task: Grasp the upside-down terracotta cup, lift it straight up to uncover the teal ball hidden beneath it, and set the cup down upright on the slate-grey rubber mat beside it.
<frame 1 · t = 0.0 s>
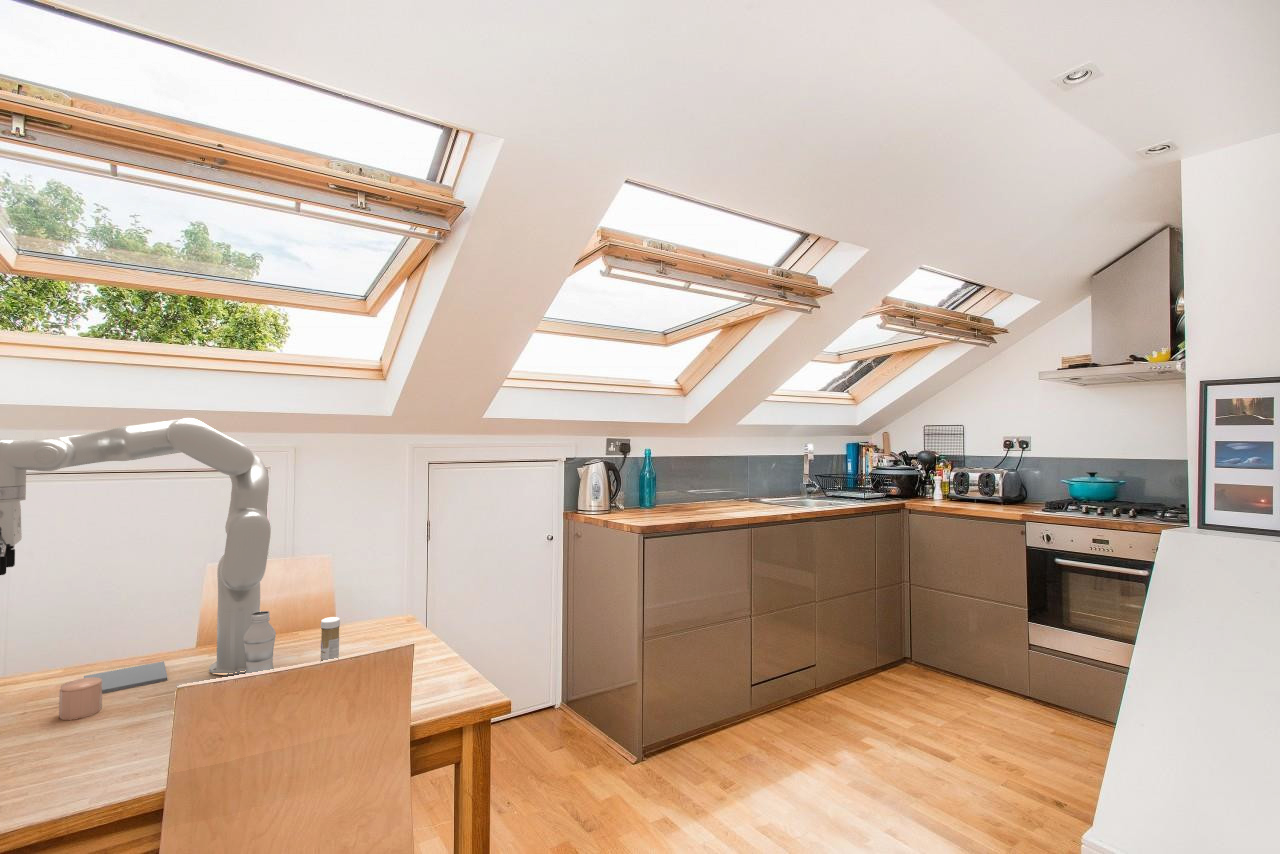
hand: (0, 571, 137), 31 cm above the table, tool pointing down, fingers open, 9 cm apart
plastic bottle: (259, 698, 145), on the table
slate mat: (125, 679, 155), on the table
teal ball: (80, 705, 137), in the terracotta cup
sprinkles bottle: (329, 670, 163), on the table
terracotta cup: (80, 712, 137), on the table
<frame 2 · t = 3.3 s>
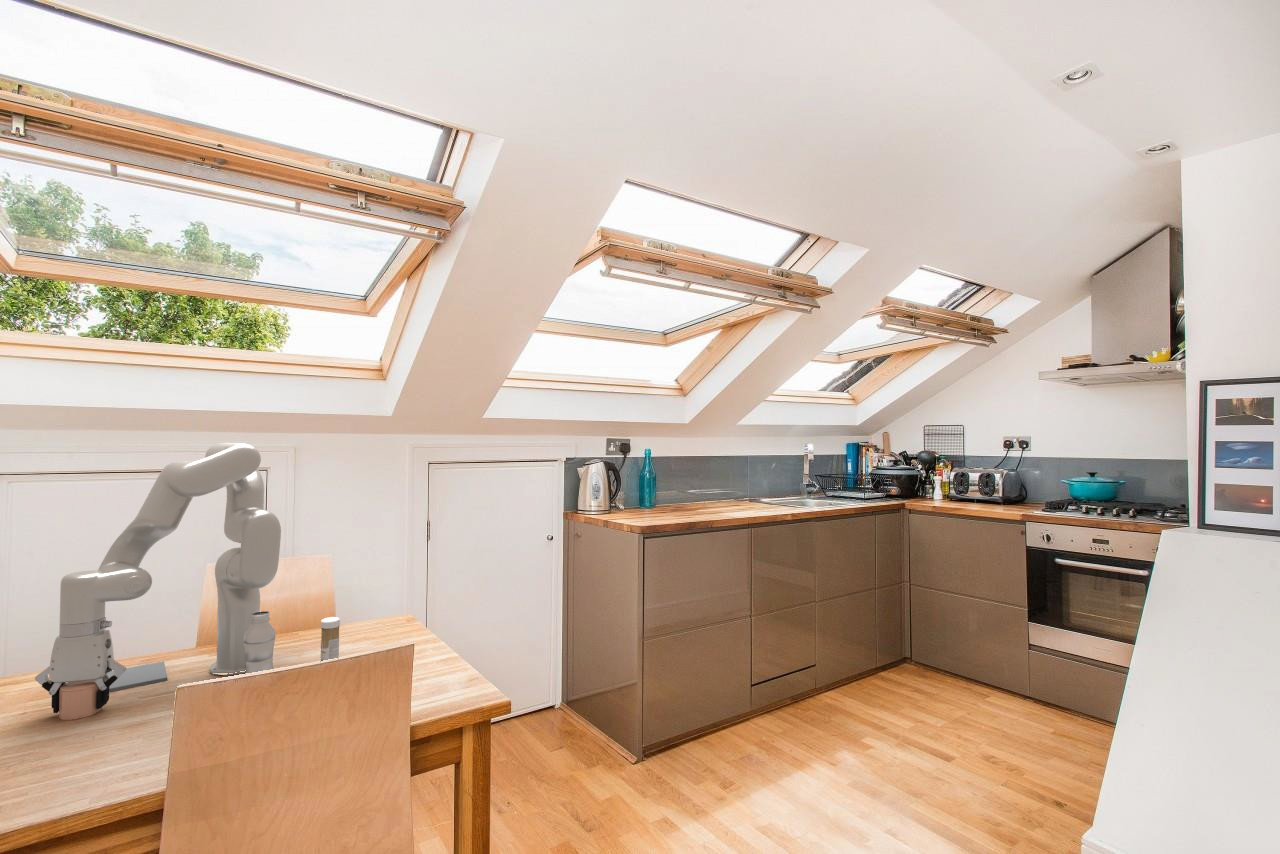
hand: (80, 707, 137), 1 cm above the table, tool pointing down, fingers closed on terracotta cup, 7 cm apart
terracotta cup: (80, 712, 137), on the table, touching gripper
everything else where it was.
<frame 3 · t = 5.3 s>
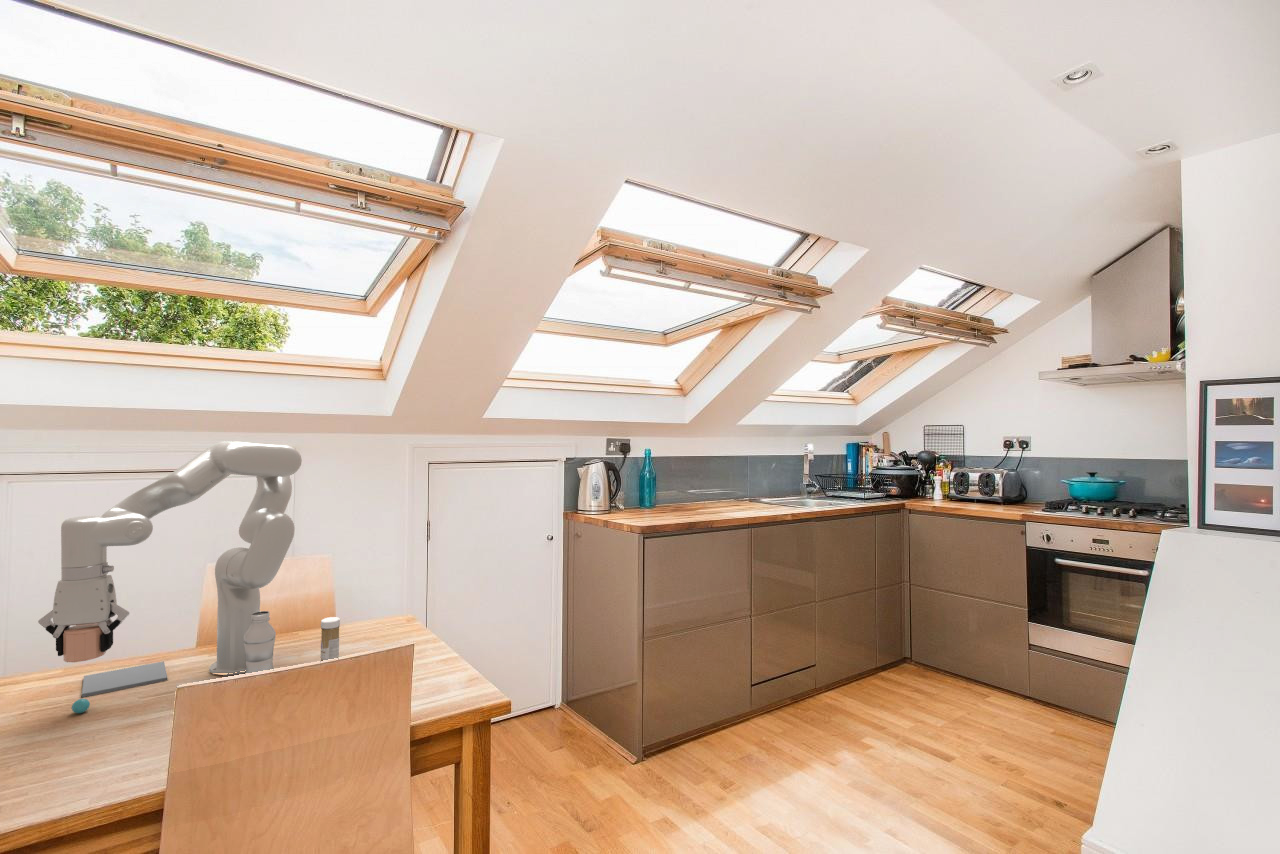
hand: (85, 651, 138), 13 cm above the table, tool pointing down, fingers closed on terracotta cup, 7 cm apart
terracotta cup: (85, 656, 138), point 12 cm above the table, touching gripper
everything else where it was.
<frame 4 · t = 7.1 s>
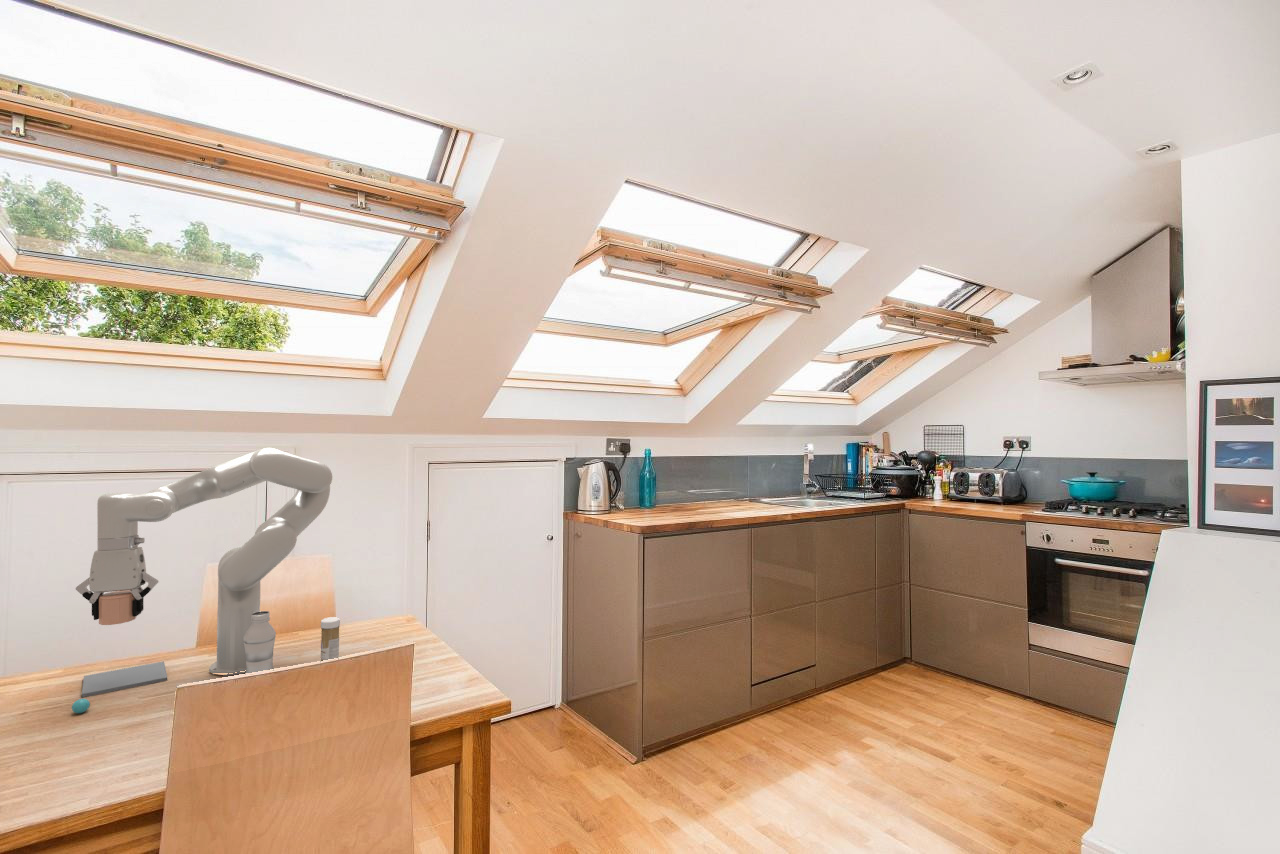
hand: (117, 615, 151), 17 cm above the table, tool pointing down, fingers closed on terracotta cup, 7 cm apart
terracotta cup: (117, 620, 151), point 16 cm above the table, touching gripper
everything else where it was.
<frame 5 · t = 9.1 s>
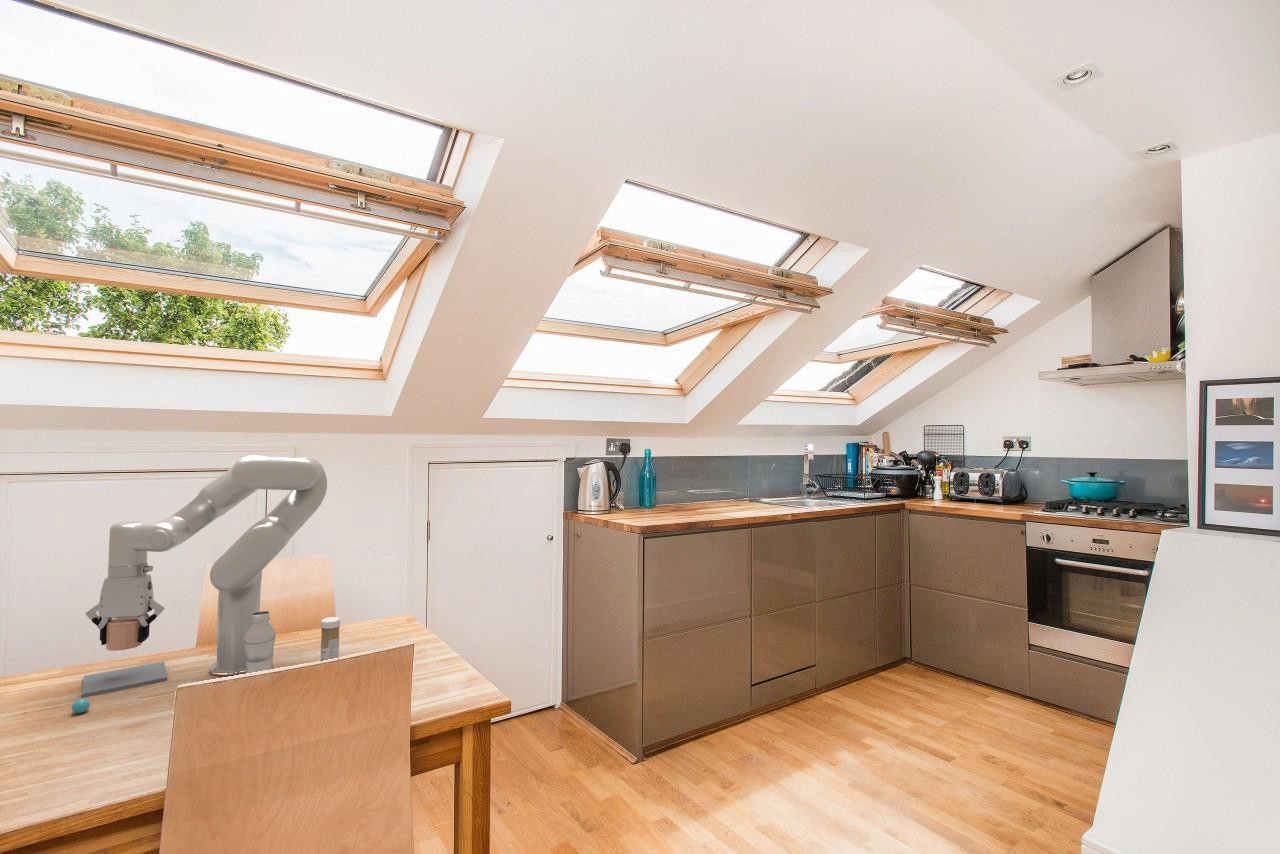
hand: (124, 641, 155), 10 cm above the table, tool pointing down, fingers closed on terracotta cup, 7 cm apart
terracotta cup: (124, 645, 155), point 9 cm above the table, touching gripper
everything else where it was.
when the fingers open (3 cm above the table, at t = 10.8 s): terracotta cup drops 1 cm, resting on slate mat.
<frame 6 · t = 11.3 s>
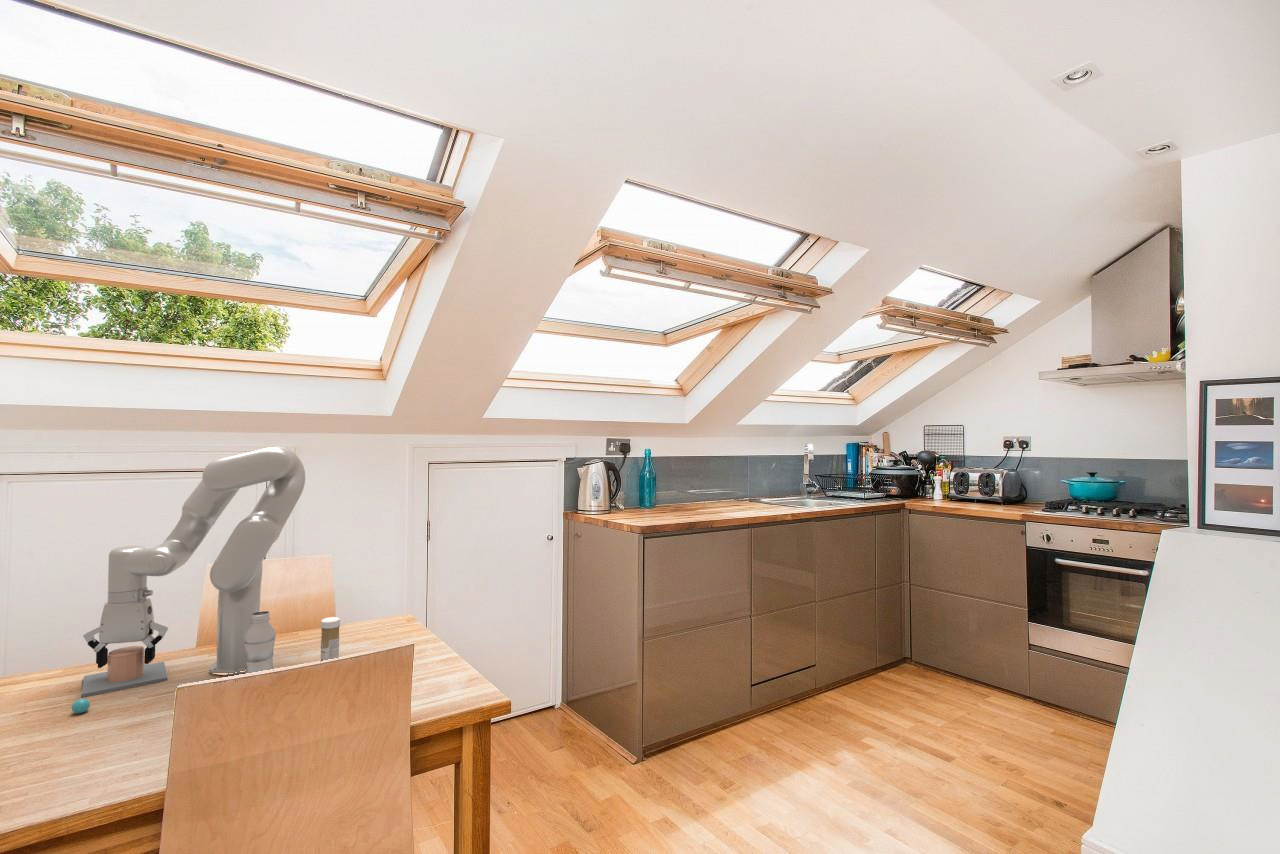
hand: (125, 664, 155), 4 cm above the table, tool pointing down, fingers open, 9 cm apart
terracotta cup: (125, 676, 155), point 1 cm above the table, touching slate mat
everything else where it was.
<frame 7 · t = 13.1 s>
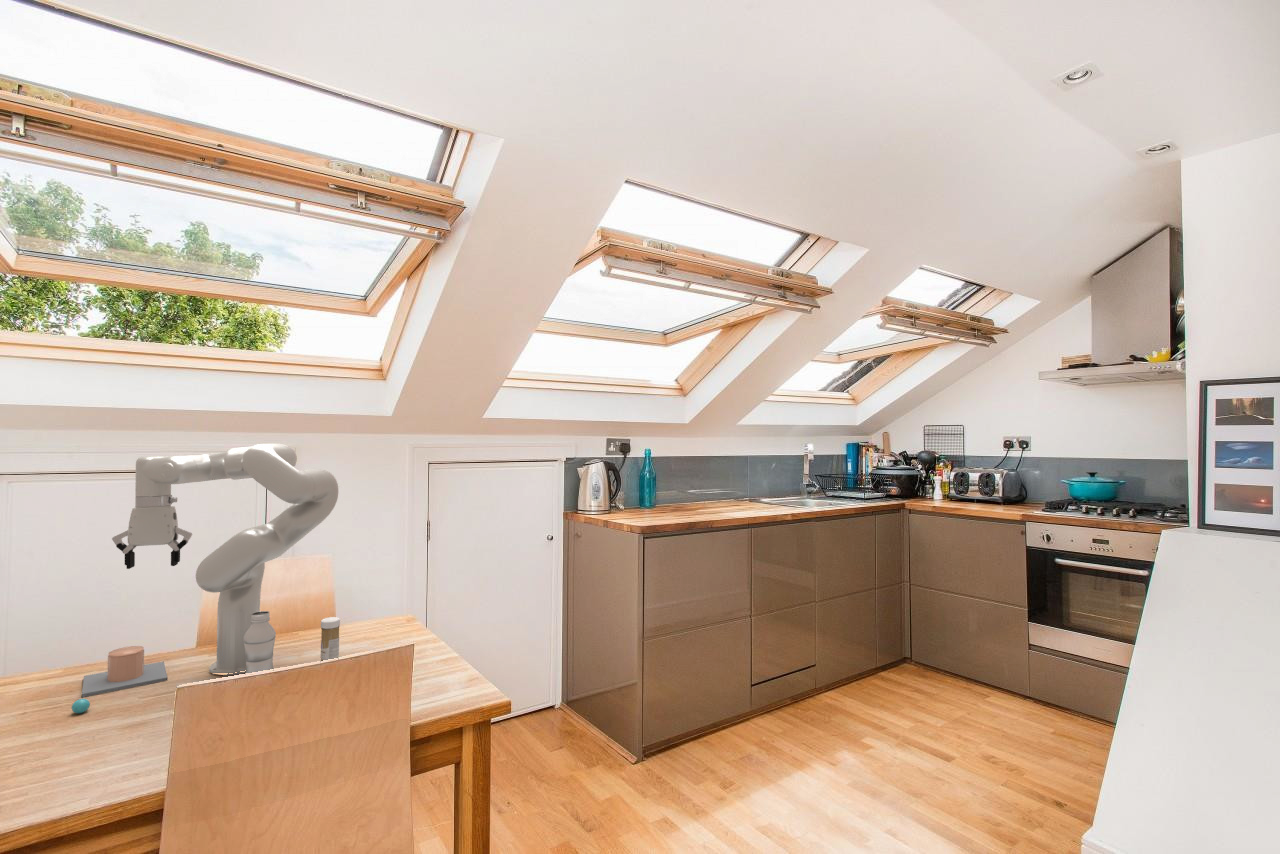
hand: (152, 566, 165), 27 cm above the table, tool pointing down, fingers open, 9 cm apart
nothing on the table moved.
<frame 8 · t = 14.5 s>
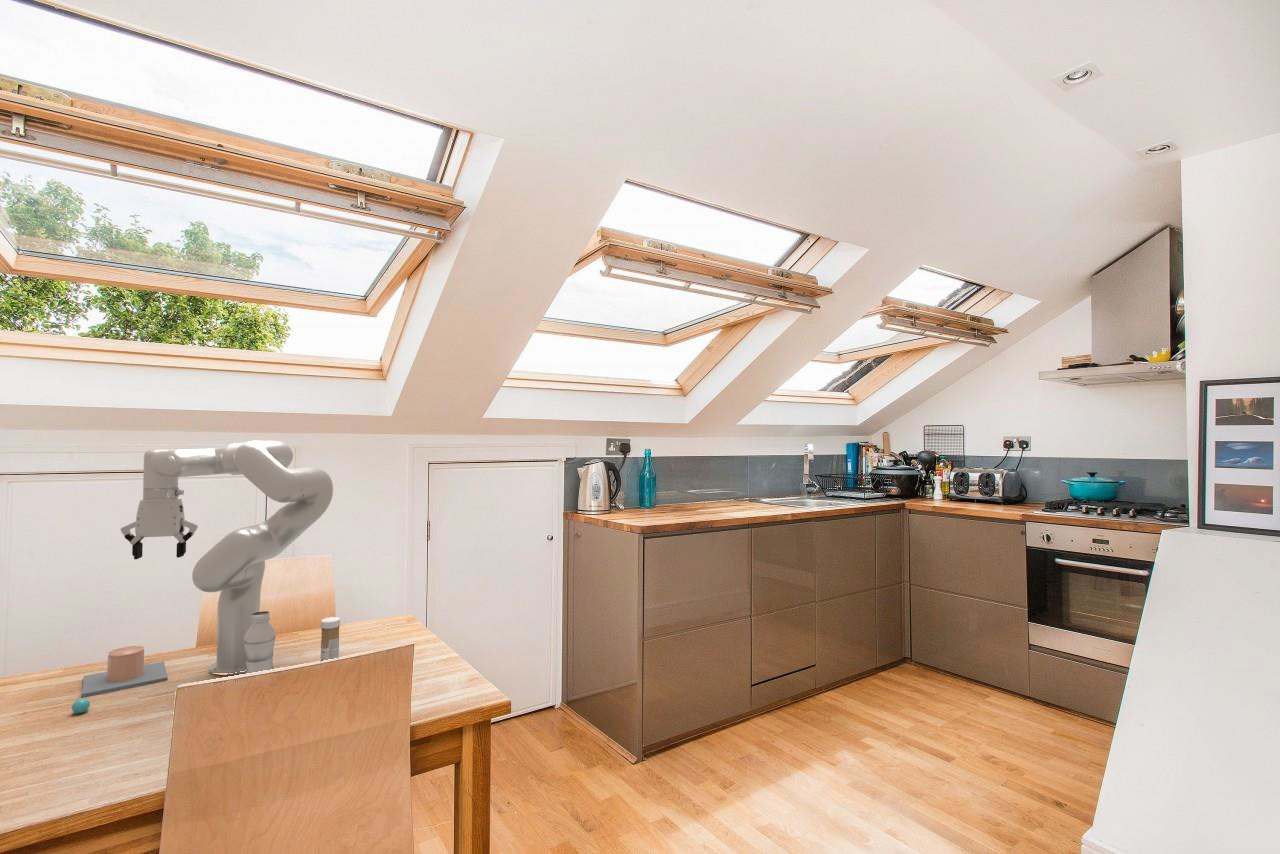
hand: (159, 557, 168), 28 cm above the table, tool pointing down, fingers open, 9 cm apart
nothing on the table moved.
at the end: terracotta cup inside the target area on the slate mat (0.0 cm from its centre), point 0.8 cm above the slate mat's base; terracotta cup tilted 0°; the gripper is holding nothing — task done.
